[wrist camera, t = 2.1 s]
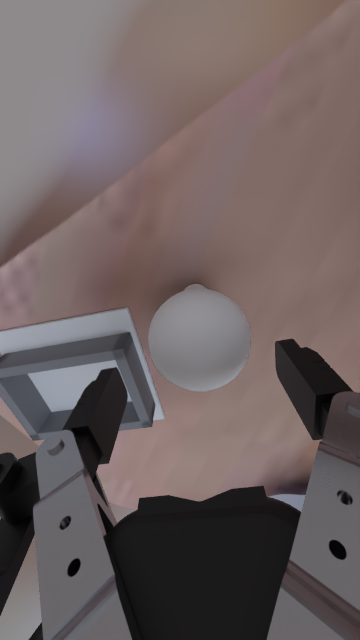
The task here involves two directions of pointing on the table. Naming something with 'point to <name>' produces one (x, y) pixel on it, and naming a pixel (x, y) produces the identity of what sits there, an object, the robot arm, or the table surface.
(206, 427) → the table surface
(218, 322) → the lightbulb
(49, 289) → the table surface
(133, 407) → the grey flat square tray
